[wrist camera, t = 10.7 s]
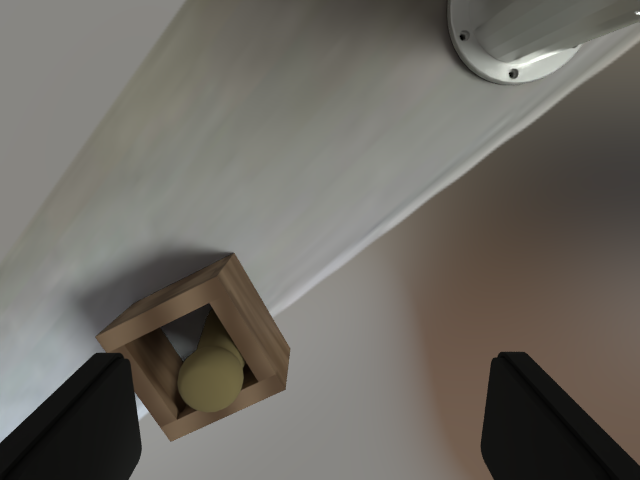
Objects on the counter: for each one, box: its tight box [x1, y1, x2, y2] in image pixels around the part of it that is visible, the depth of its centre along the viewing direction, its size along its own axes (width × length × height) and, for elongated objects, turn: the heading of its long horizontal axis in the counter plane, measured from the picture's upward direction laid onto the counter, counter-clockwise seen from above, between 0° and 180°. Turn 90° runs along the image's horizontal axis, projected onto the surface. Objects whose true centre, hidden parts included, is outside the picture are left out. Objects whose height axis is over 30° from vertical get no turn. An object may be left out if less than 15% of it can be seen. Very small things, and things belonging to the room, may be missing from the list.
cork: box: [177, 308, 246, 412], centre depth 35 cm, size 6×6×11 cm
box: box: [95, 253, 290, 441], centre depth 36 cm, size 12×12×7 cm
